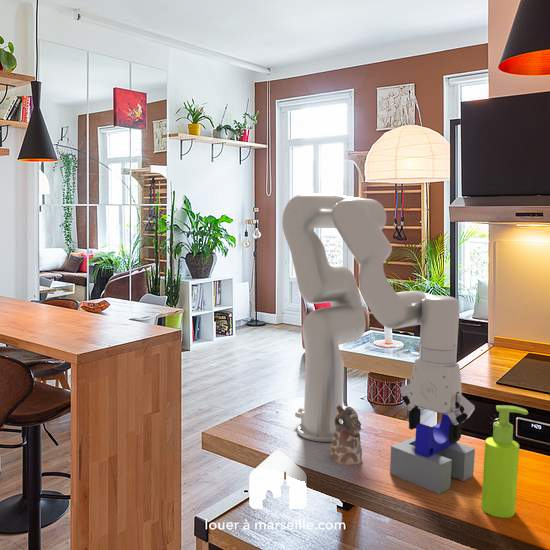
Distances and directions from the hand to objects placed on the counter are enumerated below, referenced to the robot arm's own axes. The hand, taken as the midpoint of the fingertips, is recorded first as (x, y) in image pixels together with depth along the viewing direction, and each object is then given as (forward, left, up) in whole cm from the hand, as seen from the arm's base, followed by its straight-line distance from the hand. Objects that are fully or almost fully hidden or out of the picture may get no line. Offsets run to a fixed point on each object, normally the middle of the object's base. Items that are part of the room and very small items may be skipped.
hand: (433, 434), depth 123 cm
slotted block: (0, 0, -9) cm, 9 cm away
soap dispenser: (+17, -3, -9) cm, 19 cm away
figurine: (-17, -8, -9) cm, 21 cm away
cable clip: (0, 0, -3) cm, 3 cm away
